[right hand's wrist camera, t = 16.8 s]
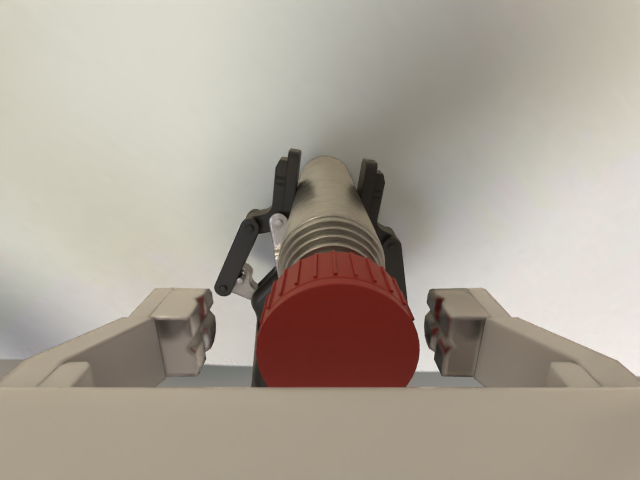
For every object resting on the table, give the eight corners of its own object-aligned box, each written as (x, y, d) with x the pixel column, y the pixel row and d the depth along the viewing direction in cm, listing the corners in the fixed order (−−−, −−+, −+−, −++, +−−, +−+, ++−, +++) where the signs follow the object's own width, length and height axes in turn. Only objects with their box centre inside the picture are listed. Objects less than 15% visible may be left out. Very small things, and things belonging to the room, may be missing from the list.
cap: (244, 340, 10) (229, 387, 9) (300, 225, 9) (296, 252, 7) (362, 386, 11) (370, 439, 9) (430, 284, 10) (455, 322, 8)
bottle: (318, 145, 28) (315, 238, 8) (359, 174, 28) (451, 325, 8) (291, 187, 29) (227, 360, 9) (331, 213, 30) (354, 427, 10)
